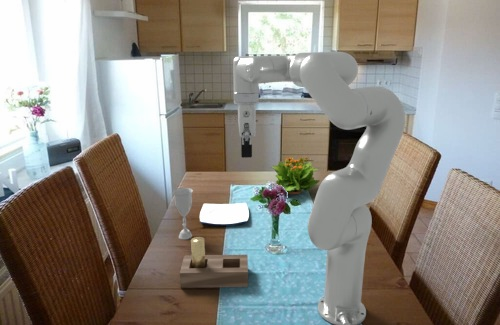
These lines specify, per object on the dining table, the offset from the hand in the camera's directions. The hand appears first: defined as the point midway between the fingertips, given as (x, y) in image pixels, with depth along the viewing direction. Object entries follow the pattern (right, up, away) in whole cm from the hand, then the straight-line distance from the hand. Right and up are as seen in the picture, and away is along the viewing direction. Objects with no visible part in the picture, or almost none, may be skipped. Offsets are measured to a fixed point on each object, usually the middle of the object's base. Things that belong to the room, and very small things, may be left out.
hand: (246, 152), depth 125 cm
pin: (-15, -38, -3) cm, 40 cm away
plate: (-10, -26, +41) cm, 50 cm away
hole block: (-10, -39, -2) cm, 40 cm away
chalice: (-23, -31, +24) cm, 46 cm away
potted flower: (+22, -17, +71) cm, 76 cm away
